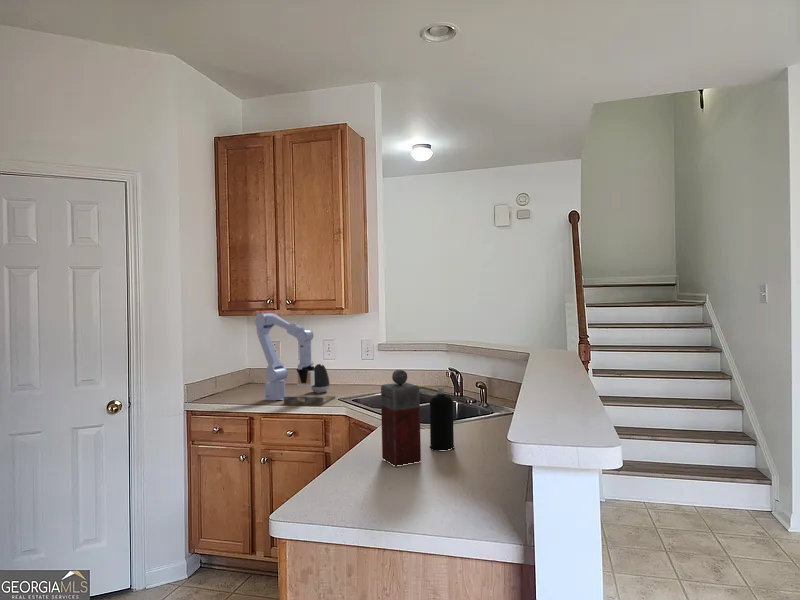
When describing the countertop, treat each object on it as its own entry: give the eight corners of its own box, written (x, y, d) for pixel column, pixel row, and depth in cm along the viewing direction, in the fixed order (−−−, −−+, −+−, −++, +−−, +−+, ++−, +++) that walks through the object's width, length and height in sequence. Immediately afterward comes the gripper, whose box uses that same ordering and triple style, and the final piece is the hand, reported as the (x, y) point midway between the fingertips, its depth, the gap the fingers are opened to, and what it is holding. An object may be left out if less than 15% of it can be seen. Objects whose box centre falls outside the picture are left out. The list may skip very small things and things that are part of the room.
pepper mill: (403, 453, 170) (402, 366, 170) (421, 462, 161) (419, 370, 160) (378, 457, 166) (376, 368, 166) (395, 467, 156) (393, 372, 156)
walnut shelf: (283, 403, 255) (283, 396, 255) (298, 397, 272) (298, 390, 272) (322, 404, 250) (322, 397, 250) (335, 397, 267) (335, 391, 267)
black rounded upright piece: (331, 390, 290) (331, 362, 290) (327, 393, 279) (326, 365, 279) (313, 390, 291) (312, 362, 291) (308, 393, 280) (307, 365, 280)
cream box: (301, 384, 262) (301, 370, 262) (314, 384, 261) (314, 370, 261) (297, 386, 257) (297, 371, 257) (310, 386, 256) (310, 372, 256)
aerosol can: (459, 449, 174) (458, 388, 174) (438, 453, 170) (437, 390, 170) (445, 443, 181) (444, 384, 181) (425, 447, 177) (423, 387, 177)
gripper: (307, 356, 251) (307, 384, 251) (318, 352, 265) (319, 379, 265) (293, 356, 253) (293, 384, 253) (305, 352, 267) (305, 379, 267)
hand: (305, 382), depth 259 cm, fingers closed on cream box, 5 cm apart
